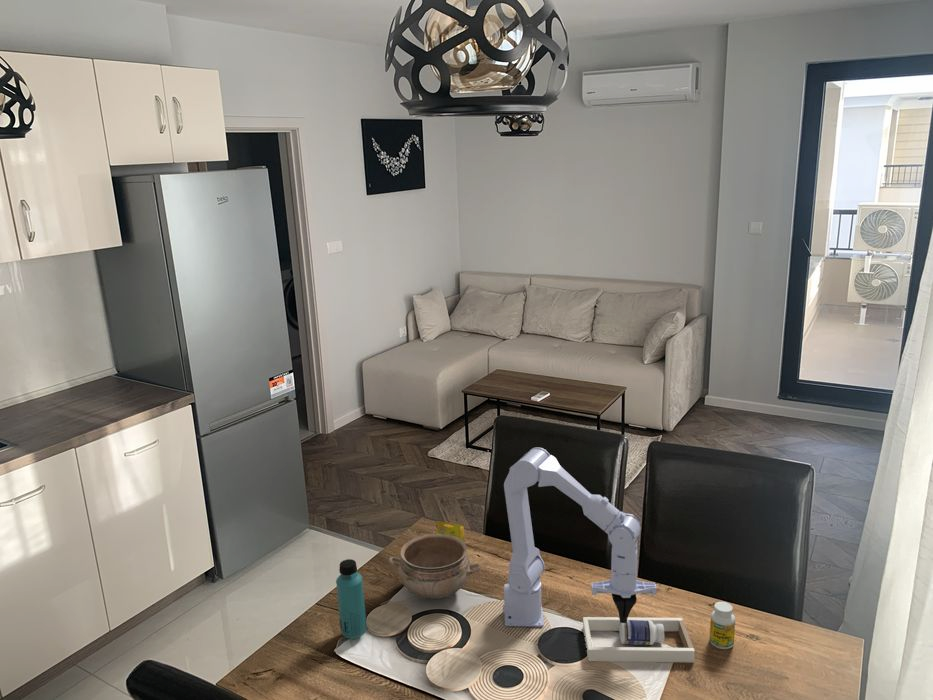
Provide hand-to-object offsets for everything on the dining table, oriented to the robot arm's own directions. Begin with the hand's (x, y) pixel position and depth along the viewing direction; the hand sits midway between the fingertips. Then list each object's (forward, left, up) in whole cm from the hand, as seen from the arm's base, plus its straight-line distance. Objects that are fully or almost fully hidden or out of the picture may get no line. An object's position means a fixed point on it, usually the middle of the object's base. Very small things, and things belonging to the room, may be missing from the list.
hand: (622, 620), depth 163 cm
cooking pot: (-46, +21, -7) cm, 51 cm away
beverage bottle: (-64, +2, -7) cm, 64 cm away
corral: (+3, 0, -6) cm, 7 cm away
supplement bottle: (+23, +1, -7) cm, 24 cm away
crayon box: (-43, +38, -7) cm, 58 cm away
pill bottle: (-1, +1, -4) cm, 4 cm away
